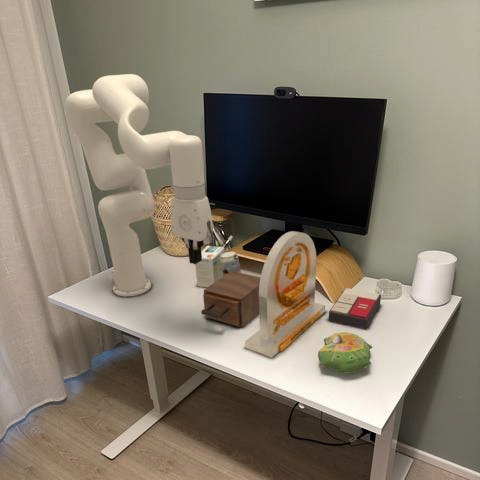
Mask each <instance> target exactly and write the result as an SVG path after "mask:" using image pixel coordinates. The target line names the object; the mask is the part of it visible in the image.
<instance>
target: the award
mask: <svg viewBox="0 0 480 480" xmlns="http://www.w3.org/2000/svg"><path fill="white" fill-rule="evenodd" d="M260 277H261V278H260V285H259V314H258V316H259V329H258V330H257V331H256V332H254V333H253V334H252V335H251V336H249V337H248V338H247V339H246V340H245V341H244V343H245V345H244V346H245V349H248V350H250V351H253V352H255V353H258V354H261V355H263V356H265V357H269V358H271V359H273V358H274V357H275V356H276V355H277V354H279V352H280V353H281V352H283V351H284V350H285V349H286V348H287V347H288V346H289V345H290V344H291V343H293V342H294V340H296V339H297V338H298V337H299V336H300V335H301V334H302V333H303V332H304V331H306V330H307V329H308V328H309V327H311V325H312V324H313V323H315V322H316V321H317V320H318V319H319V318H320V317H321V316H322V315H323V314H324V313H326V305H325V304H322V303H320V302H316V282H317V281H316V280H317V250H316V247H315V243H314V241H313V239H312V238H311V237H310V235H309V234H308V233H305V232H300V231H295V230H292V231H288V232H285V233H284V234H282V235H281V236H280V237H279V238H278V239H277V241H275V243H274V244H273V246H272V247H271V249H270V250H269V252H268V255H267V257H266V259H265V261H264V264H263V267H262V270H261V274H260Z"/></svg>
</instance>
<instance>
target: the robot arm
mask: <svg viewBox="0 0 480 480" xmlns="http://www.w3.org/2000/svg"><path fill="white" fill-rule="evenodd" d="M149 100H150V91H149V88H148V85H147V83H146V82H145V80H144V79H143V78H142V77H140V75H137V74H135V73H127V74H124V73H123V74H110V75H109V74H108V75H104V76H101V77H99V78H98V79H96V80H95V82H94V83H93V85H92V89H83V90H77V91H75V92H72V93H70V94H69V95H68V96H67V98H66V100H65V104H64V105H65V107H64V109H65V114H66V118H67V120H68V123H69V126H70V128H71V130H72V132H73V133H74V135H75V136H76V138H77V139H78V141H79V143H80V145H81V147H82V151H83V155H84V157H85V159H86V163H87V165H88V169H89V171H90V175H91V178H92V180H93V183H94V184H95V186H96V188H98V189H99V190H101V191H112V190H116V189H117V190H118V189H120V188H121V189H122V188H125V187H129V189H130V190H126V191H121V192H117V193H113V194H112V193H111V194H109V195H106V196H104V197H103V198H101V199H100V200H99V202H98V205H97V210H98V214H99V217H100V220H101V222H102V225H103V228H104V231H105V234H106V239H107V243H108V247H109V252H110V258H111V263H112V268H113V271H112V273H111V275H110V276H109V280H111V281H114V284H113V286H112V290H113V291H112V292H113V293H114V294H115V295H116V296H119V297H126V298H127V297H135V296H140V295H143V294H145V293H146V292H149V290H150V289H151V288H152V283H151V281H150V280H149V279H147V278H146V274H145V269H144V263H143V257H142V250H141V245H140V238H139V236H138V233H137V232H136V231H135V230H134V229H133V228H131V227H130V225H131V224H133V223H136V222H140V221H143V220H147V219H149V218H151V217H152V216H153V215H154V214H155V210H156V204H155V199H154V195H153V193H152V189H151V186H150V182H149V179H148V175H147V172H146V170H154V169H158V168H163V167H167V166H170V169H171V170H170V171H171V178H172V183H171V186H170V189H171V190H172V191H173V195H172V196H171V201H170V228H171V233H172V235H173V236H175V237H176V238H177V239H179V240H181V241H182V242H183V244H184V245H185V248H186V249H187V250H188V251H187V253H188V259H189V260H188V262H189V264H192V265H195V264H197V263H198V262H200V261H201V260H202V252H201V251H202V248H203V247H204V245H205V246H206V245H210V244H212V243H213V239H212V236H213V233H214V226H213V225H214V223H213V217H212V210H211V206H210V202H209V198H208V196H206V194H207V193H206V182H205V168H204V154H203V152H204V151H203V143H202V140H201V138H200V137H199V136H197V135H192V134H191V135H190V134H186V133H184V132H182V131H180V130H168V131H161V132H156V133H155V132H154V133H149V134H143V135H142V134H140V133H141V132H142V131H143V130H144V129H145V128H146V126H147V124H148V122H149V120H150V110H149V108H148V106H147V105H148V103H149ZM108 122H115V123H116V124H117V138H118V141H119V144H120V148H121V149H122V151H123V153H118V154H117V153H116V151H115V149H114V147H113V143H112V140H111V138H110V136H109V135H108V133H107V132H105V130H103V129H102V128H101V127H100V126H98V125H97V124H99V123H108Z"/></svg>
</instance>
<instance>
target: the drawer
mask: <svg viewBox="0 0 480 480" xmlns="http://www.w3.org/2000/svg"><path fill="white" fill-rule="evenodd" d="M202 297H203V298H202V299H203V309H201V315H203V316H204V317H205V318H207V319H210V318H211V320H214V321H217V320H218V321H217V322H222V323H224V322H225V323H224V324H228V325H231V324H232V325H231V326H235V327H238V326H239V325H240V306H239V301H234V300H230V299H226V298H225V297H221V296H217V295H213V294H207V293H205V294H204V293H203V294H202Z"/></svg>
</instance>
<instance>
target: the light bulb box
mask: <svg viewBox="0 0 480 480" xmlns="http://www.w3.org/2000/svg"><path fill="white" fill-rule="evenodd" d="M225 251H226V250H225V247H224V246H215V245H214V246H213V245H205V247H204V248H203V249H201V252H202V260H201V261H200V262H198V263H197V264H194V265H195V266H194V267H195V274H196V275H195V276H196V284H197V287H201V288H207V287H209V286H210V285H212V284H213V283H214V282H216V281H217V280H219V279H220V278H222V277H223V273H222V268H221V264H220V258H221V255H222V254H223V253H226V252H225Z"/></svg>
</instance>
